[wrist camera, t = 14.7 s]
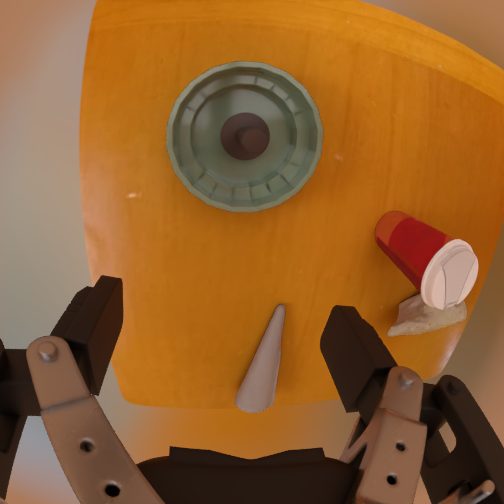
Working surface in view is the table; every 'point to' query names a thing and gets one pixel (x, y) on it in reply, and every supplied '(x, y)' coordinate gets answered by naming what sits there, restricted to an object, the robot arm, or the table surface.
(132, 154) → the table surface
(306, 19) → the table surface
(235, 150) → the brown capped cylinder
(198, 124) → the bowl
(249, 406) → the long tapered cone
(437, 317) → the pale crumpled lump
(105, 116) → the table surface
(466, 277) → the coffee cup
